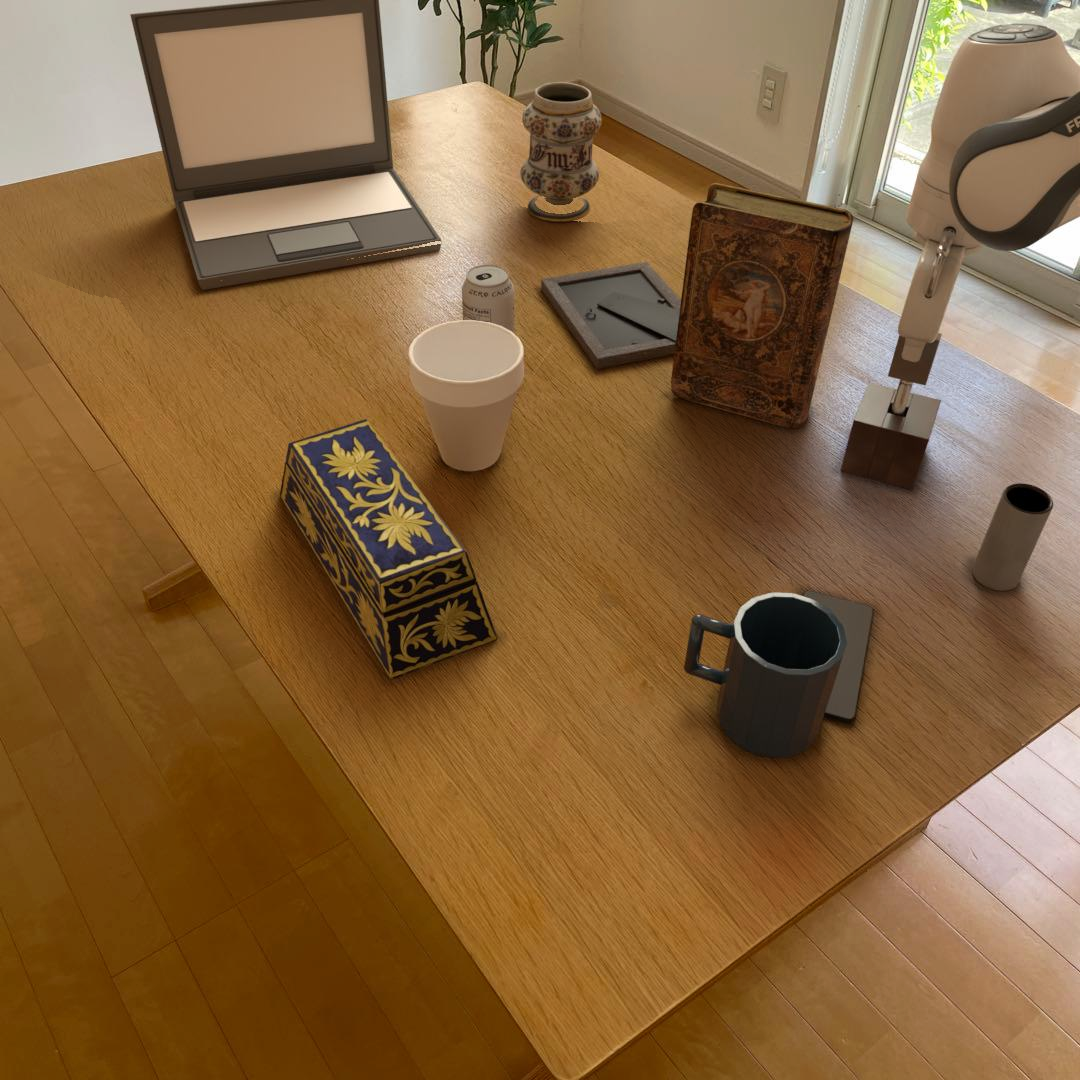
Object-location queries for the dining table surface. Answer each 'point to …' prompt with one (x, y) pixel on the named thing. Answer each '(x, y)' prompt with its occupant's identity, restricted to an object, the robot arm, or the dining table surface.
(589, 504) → the dining table surface
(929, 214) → the robot arm
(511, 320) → the energy drink can
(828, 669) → the grey coffee mug
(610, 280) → the picture frame
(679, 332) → the book
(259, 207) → the laptop
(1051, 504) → the grey hollow cylinder
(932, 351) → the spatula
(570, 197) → the apothecary jar
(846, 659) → the smartphone
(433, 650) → the decorative box
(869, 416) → the utensil block
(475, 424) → the cup
